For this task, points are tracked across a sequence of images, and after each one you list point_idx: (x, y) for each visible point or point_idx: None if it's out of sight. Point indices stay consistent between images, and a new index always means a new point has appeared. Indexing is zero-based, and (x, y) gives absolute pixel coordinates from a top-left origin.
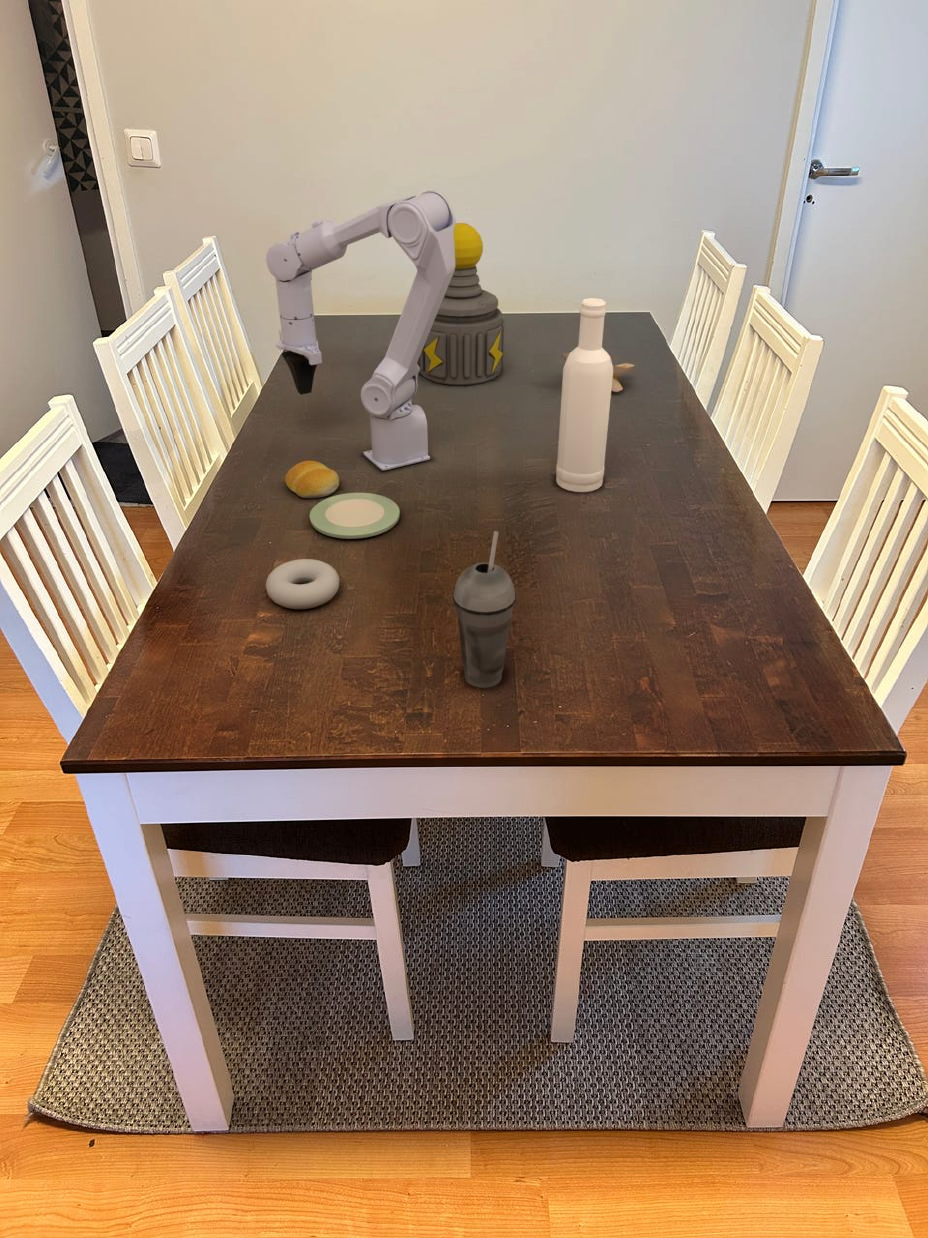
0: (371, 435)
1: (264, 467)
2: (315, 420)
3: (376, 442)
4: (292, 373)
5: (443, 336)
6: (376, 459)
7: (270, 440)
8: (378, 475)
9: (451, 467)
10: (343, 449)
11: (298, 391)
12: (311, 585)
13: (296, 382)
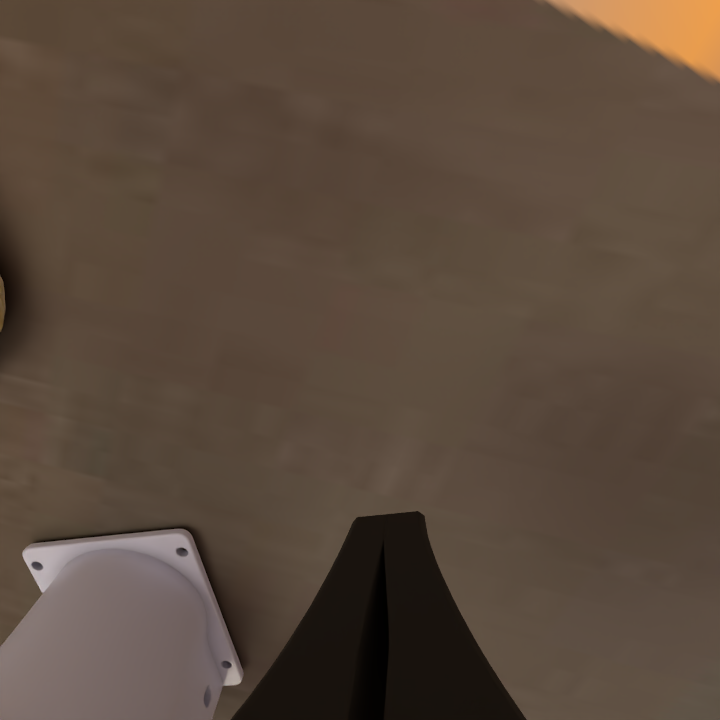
0: (60, 633)
1: (148, 73)
2: (645, 449)
3: (28, 623)
4: (412, 655)
5: None
6: (82, 557)
7: (501, 176)
8: (3, 522)
9: None
10: (266, 475)
11: (385, 521)
12: None
13: (351, 587)
